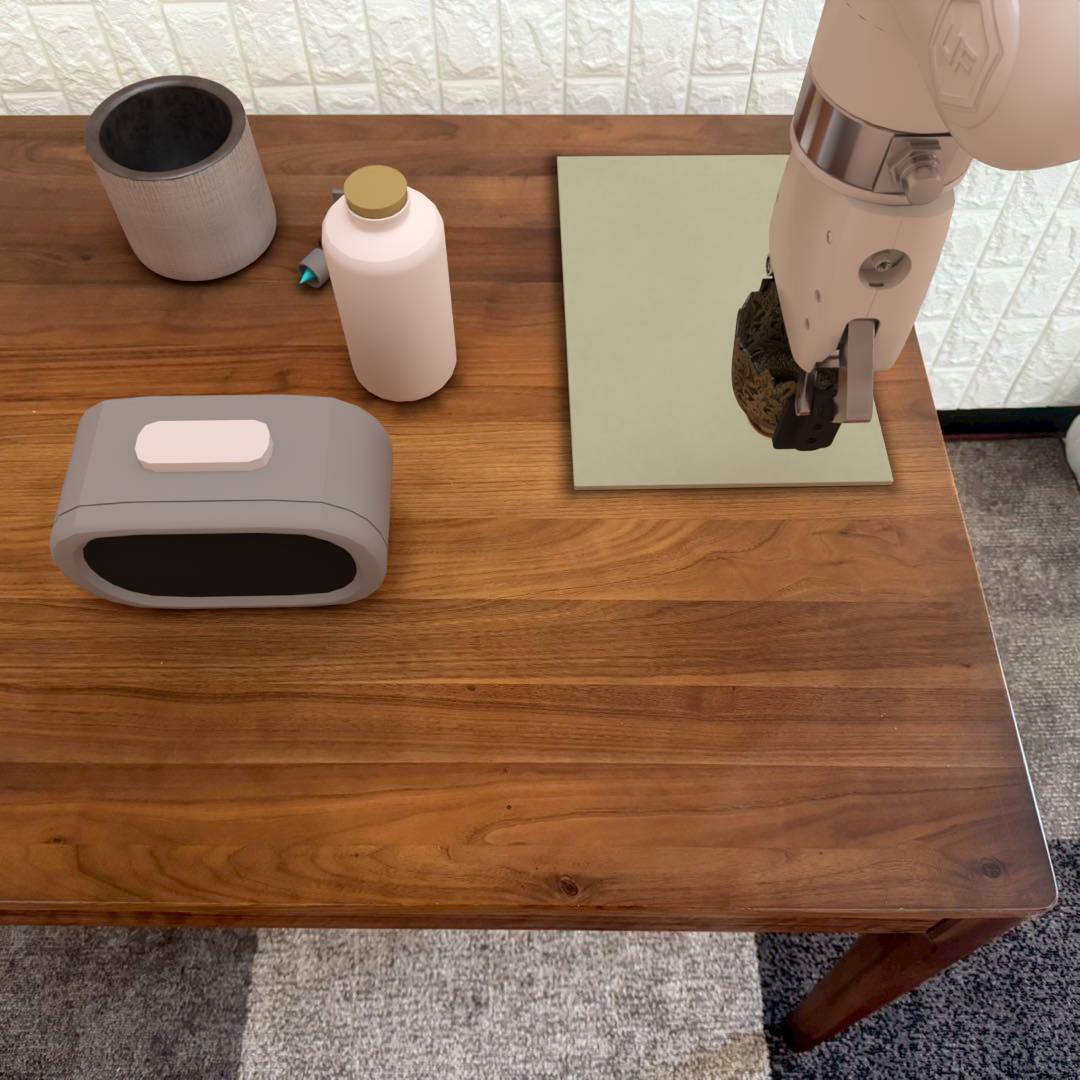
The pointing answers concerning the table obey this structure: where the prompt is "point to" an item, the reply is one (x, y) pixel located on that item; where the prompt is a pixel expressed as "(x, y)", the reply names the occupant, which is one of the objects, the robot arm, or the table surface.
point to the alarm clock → (226, 502)
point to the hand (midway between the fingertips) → (787, 384)
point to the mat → (676, 327)
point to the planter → (183, 176)
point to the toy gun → (316, 260)
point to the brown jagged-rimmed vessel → (766, 362)
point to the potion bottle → (391, 284)
